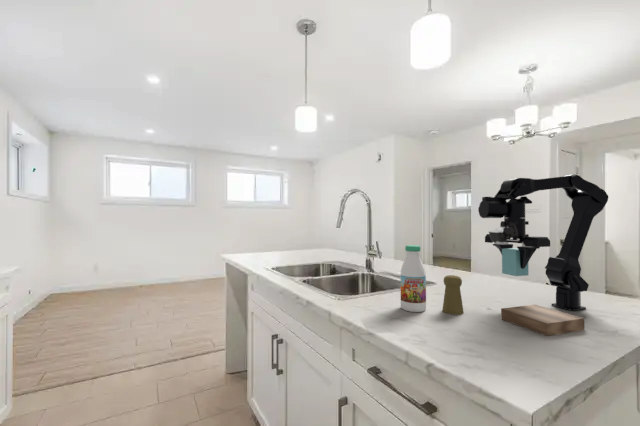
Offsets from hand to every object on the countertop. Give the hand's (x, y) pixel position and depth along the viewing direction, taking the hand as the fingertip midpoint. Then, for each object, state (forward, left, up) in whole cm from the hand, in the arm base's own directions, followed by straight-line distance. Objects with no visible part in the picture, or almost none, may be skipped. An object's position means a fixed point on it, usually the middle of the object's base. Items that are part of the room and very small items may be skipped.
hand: (515, 267), depth 97 cm
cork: (+21, -3, -13) cm, 25 cm away
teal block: (0, 0, -2) cm, 2 cm away
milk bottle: (+31, -9, -13) cm, 35 cm away
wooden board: (+7, +13, -13) cm, 20 cm away
